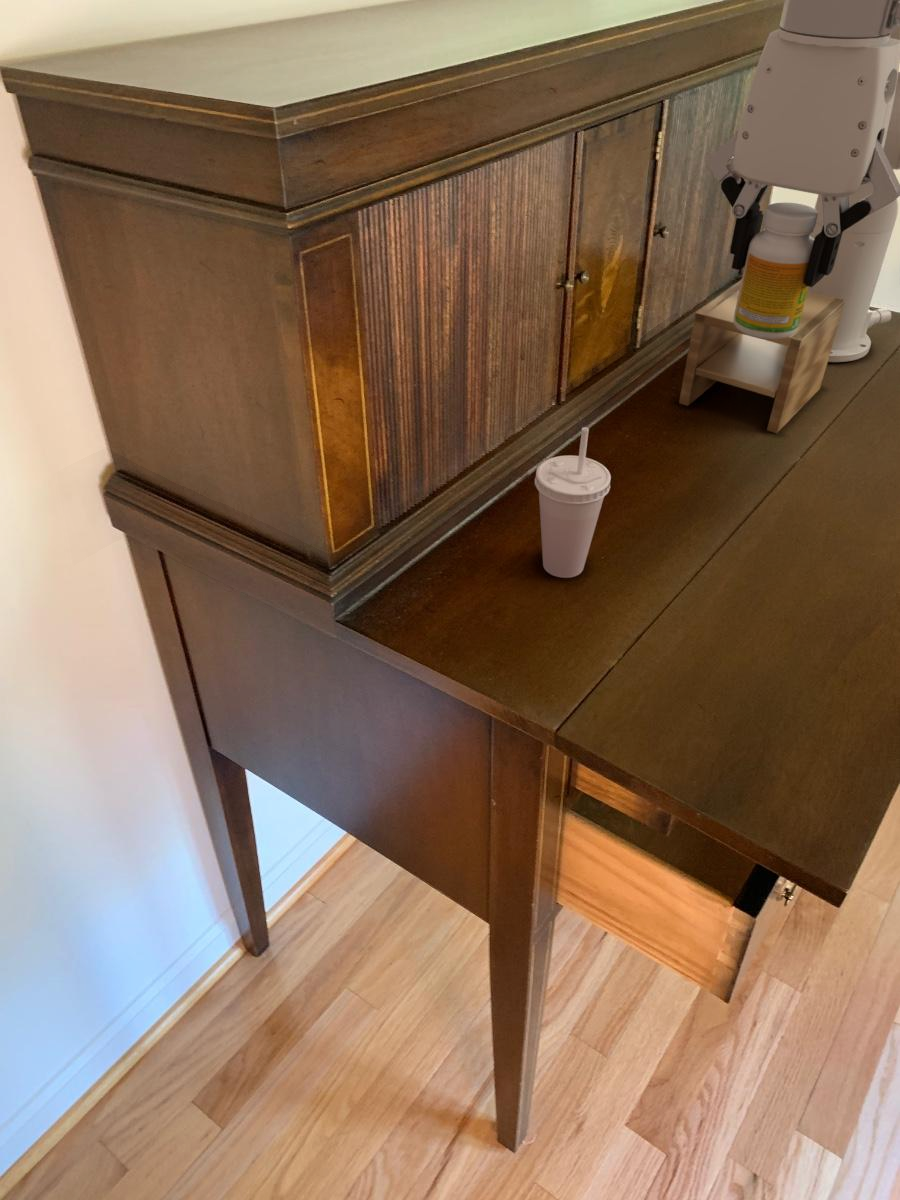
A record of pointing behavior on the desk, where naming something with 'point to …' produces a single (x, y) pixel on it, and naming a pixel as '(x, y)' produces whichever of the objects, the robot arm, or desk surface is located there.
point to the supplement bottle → (776, 273)
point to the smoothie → (569, 508)
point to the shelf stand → (761, 355)
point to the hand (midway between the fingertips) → (777, 270)
